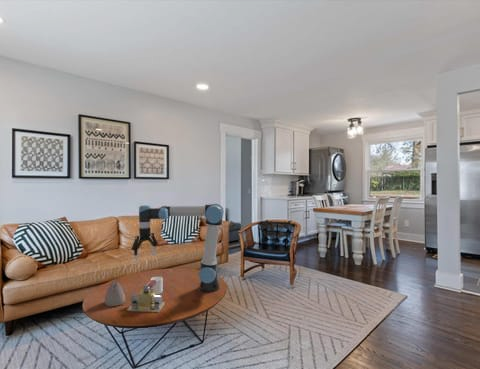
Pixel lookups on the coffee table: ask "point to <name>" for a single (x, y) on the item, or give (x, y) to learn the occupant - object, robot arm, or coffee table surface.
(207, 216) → the robot arm
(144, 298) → the valve body
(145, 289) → the lever
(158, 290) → the mug
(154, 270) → the coffee table surface
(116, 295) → the sculpture
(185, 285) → the coffee table surface
